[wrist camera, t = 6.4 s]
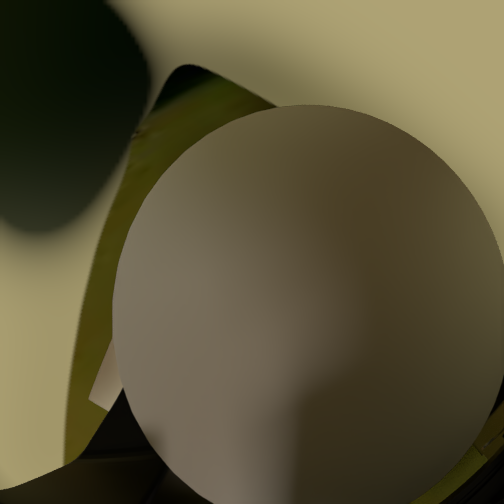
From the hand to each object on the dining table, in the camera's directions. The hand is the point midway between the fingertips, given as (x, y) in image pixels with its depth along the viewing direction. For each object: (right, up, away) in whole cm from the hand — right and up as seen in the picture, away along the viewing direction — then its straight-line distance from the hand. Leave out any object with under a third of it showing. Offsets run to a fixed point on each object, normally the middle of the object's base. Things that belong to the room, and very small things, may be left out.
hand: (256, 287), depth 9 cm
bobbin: (-1, -3, +6) cm, 7 cm away
